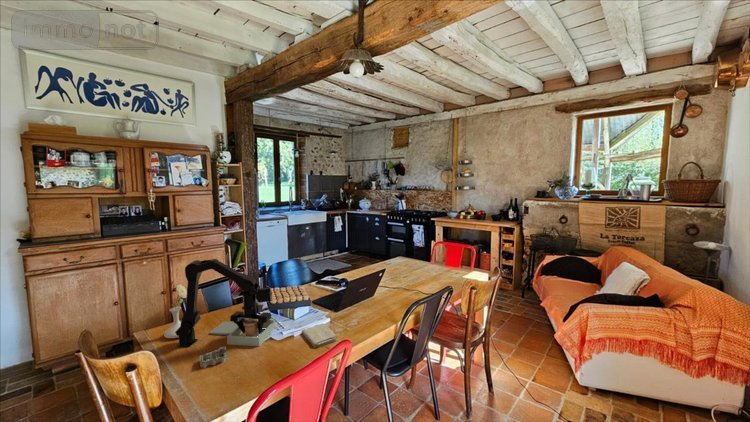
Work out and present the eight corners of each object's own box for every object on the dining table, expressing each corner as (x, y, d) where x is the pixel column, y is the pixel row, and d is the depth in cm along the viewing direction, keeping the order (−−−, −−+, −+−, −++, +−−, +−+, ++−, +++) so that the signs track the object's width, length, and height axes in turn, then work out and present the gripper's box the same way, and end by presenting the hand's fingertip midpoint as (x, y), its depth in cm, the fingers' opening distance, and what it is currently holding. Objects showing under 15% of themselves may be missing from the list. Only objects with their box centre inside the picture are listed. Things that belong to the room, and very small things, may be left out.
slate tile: (231, 335, 157) (231, 333, 157) (209, 334, 158) (209, 332, 158) (244, 324, 168) (244, 322, 168) (224, 323, 170) (223, 321, 170)
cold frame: (259, 346, 146) (258, 334, 145) (227, 344, 148) (226, 333, 148) (274, 329, 162) (274, 319, 161) (245, 328, 164) (245, 317, 163)
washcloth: (315, 350, 143) (314, 343, 142) (300, 334, 158) (300, 328, 157) (338, 341, 149) (338, 335, 149) (322, 327, 164) (322, 321, 164)
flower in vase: (178, 341, 152) (173, 291, 149) (158, 339, 154) (153, 290, 151) (198, 328, 165) (194, 282, 162) (179, 327, 167) (175, 281, 164)
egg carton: (227, 354, 141) (226, 345, 140) (227, 362, 134) (227, 353, 134) (200, 360, 136) (199, 351, 136) (199, 369, 130) (198, 360, 129)
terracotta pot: (255, 340, 151) (254, 324, 150) (241, 340, 152) (240, 324, 151) (262, 333, 158) (261, 317, 157) (249, 332, 159) (248, 317, 158)
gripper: (275, 297, 160) (277, 326, 162) (241, 296, 162) (243, 324, 164) (264, 306, 149) (266, 337, 151) (228, 304, 151) (230, 335, 153)
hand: (252, 333), depth 155 cm, fingers open, 8 cm apart
